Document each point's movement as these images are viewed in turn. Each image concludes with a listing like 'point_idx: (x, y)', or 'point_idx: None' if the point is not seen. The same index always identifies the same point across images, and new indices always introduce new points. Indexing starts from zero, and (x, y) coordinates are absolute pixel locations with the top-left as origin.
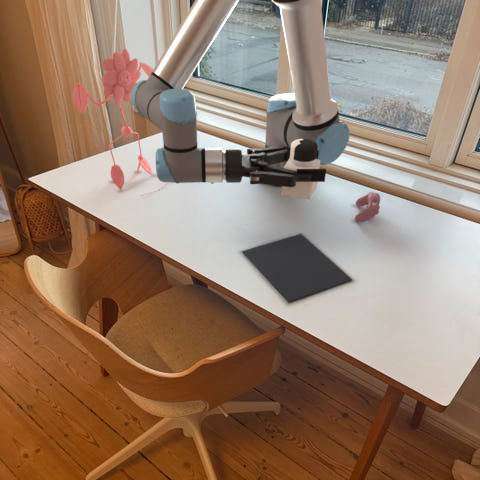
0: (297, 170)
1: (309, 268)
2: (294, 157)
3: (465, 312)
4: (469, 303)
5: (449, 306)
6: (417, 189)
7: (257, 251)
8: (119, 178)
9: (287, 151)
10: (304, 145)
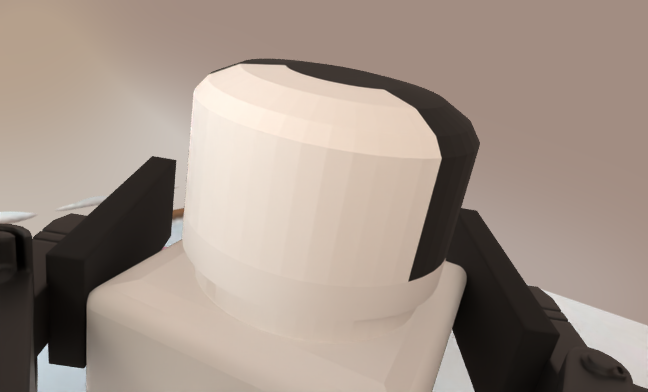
0: (558, 333)
1: None
2: (423, 255)
3: (600, 317)
4: (564, 301)
5: (594, 331)
6: (89, 200)
7: None
8: None
9: (30, 288)
10: (424, 95)
